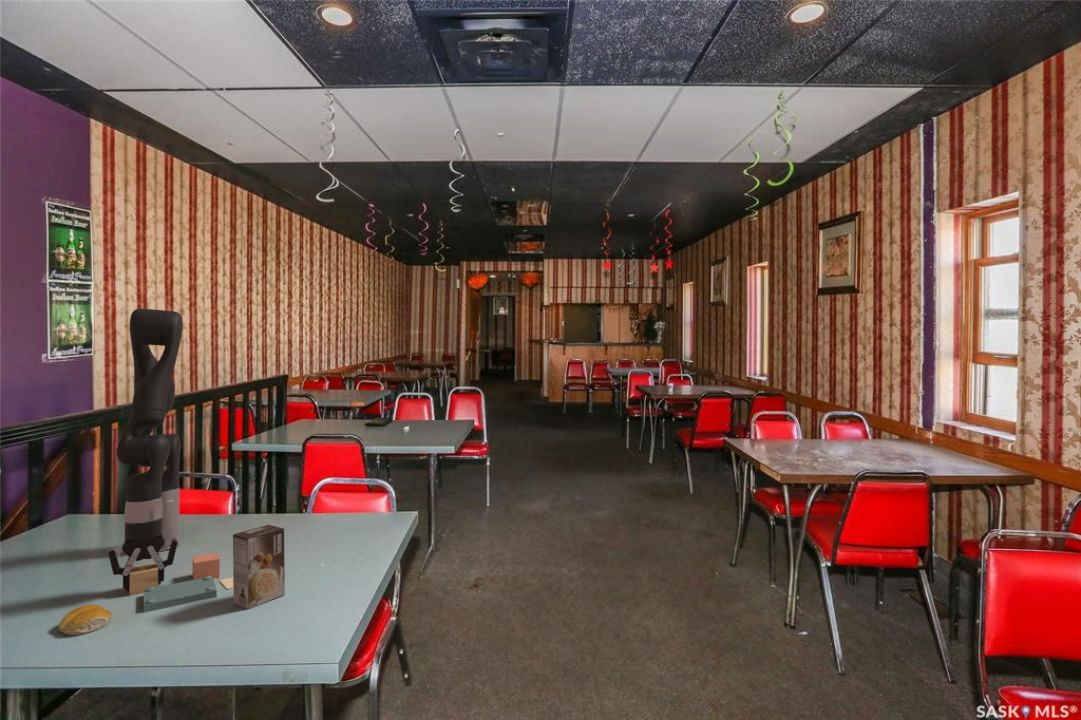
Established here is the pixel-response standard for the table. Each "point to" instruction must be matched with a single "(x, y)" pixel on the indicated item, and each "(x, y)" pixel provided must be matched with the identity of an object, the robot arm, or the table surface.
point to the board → (179, 593)
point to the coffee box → (258, 566)
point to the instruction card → (227, 583)
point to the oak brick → (143, 578)
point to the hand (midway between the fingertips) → (143, 586)
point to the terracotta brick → (206, 566)
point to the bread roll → (85, 620)
